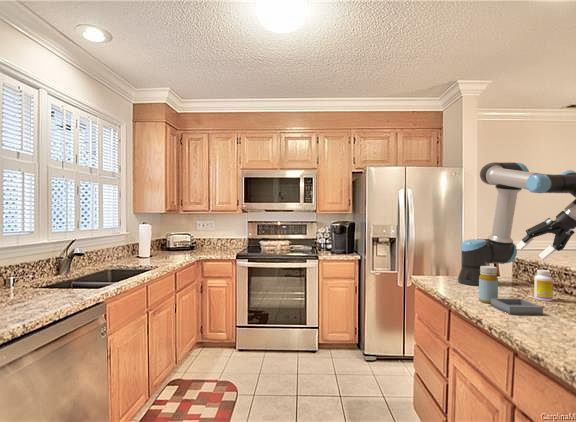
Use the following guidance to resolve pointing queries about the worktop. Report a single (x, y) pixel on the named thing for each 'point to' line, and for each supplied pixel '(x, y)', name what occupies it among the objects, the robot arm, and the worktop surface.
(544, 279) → the supplement bottle
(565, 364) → the worktop surface
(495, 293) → the bottle
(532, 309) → the tray
